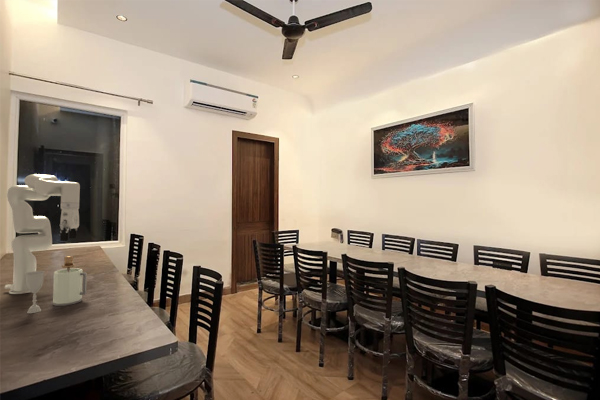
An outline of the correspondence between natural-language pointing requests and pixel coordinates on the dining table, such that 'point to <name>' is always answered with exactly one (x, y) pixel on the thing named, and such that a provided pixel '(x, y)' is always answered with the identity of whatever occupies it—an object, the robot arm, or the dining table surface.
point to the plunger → (68, 263)
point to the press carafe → (68, 286)
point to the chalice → (34, 287)
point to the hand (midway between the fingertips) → (68, 239)
